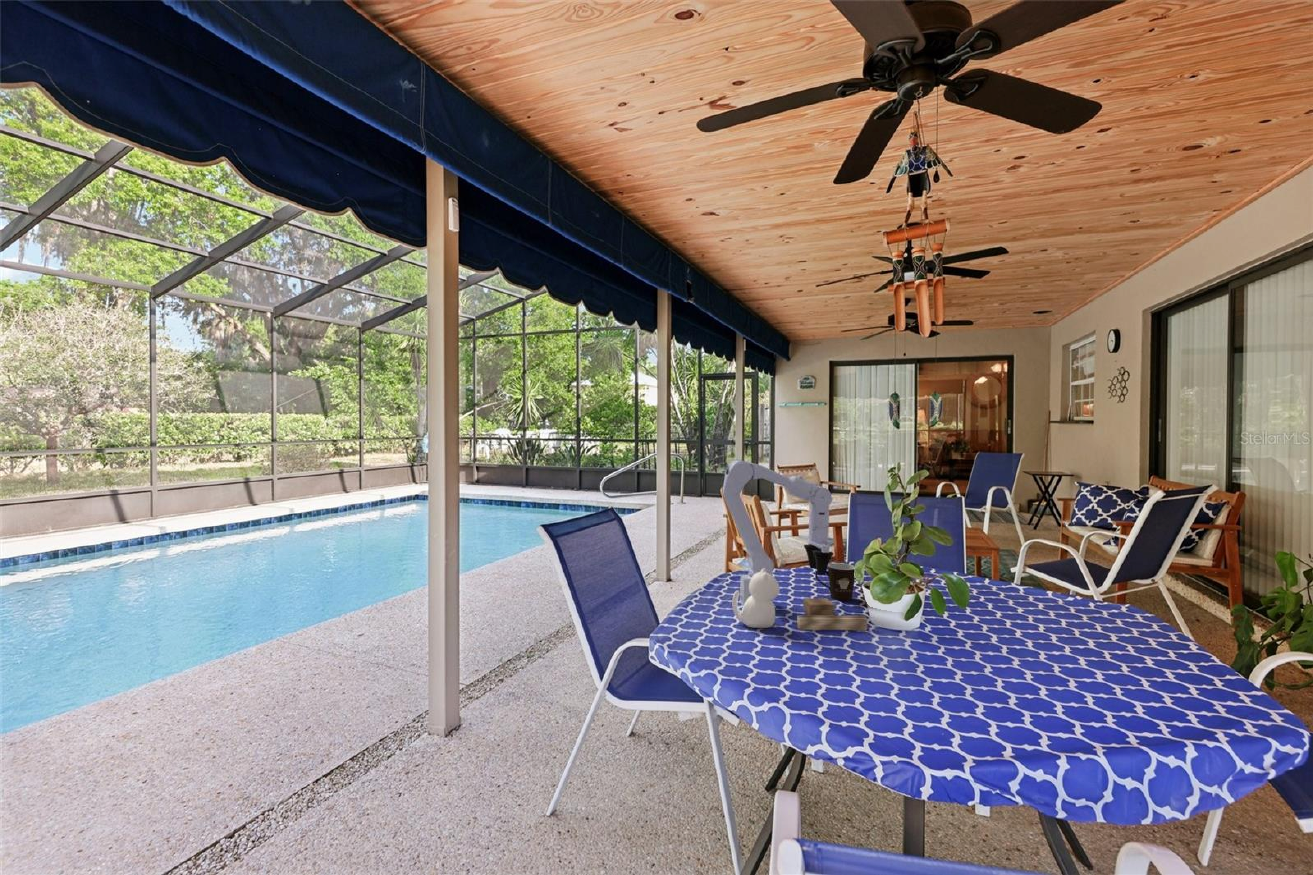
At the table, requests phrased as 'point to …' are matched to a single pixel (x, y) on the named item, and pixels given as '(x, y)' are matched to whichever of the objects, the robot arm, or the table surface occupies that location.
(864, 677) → the table surface
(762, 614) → the cat figurine
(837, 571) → the coffee mug
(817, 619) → the board
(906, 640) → the table surface
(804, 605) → the walnut block
